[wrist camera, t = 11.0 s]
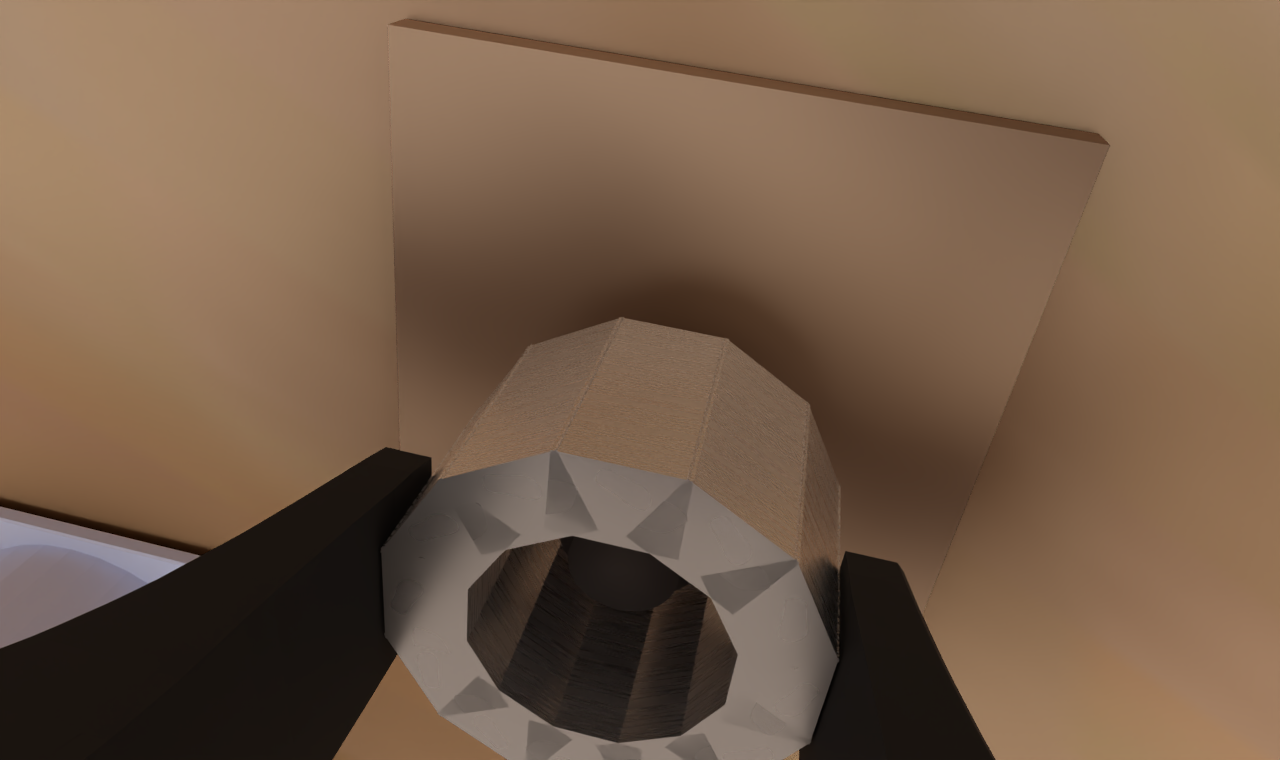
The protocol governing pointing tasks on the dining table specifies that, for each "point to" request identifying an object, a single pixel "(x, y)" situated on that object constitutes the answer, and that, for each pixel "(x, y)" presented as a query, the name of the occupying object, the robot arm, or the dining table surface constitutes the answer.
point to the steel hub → (635, 519)
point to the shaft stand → (727, 258)
